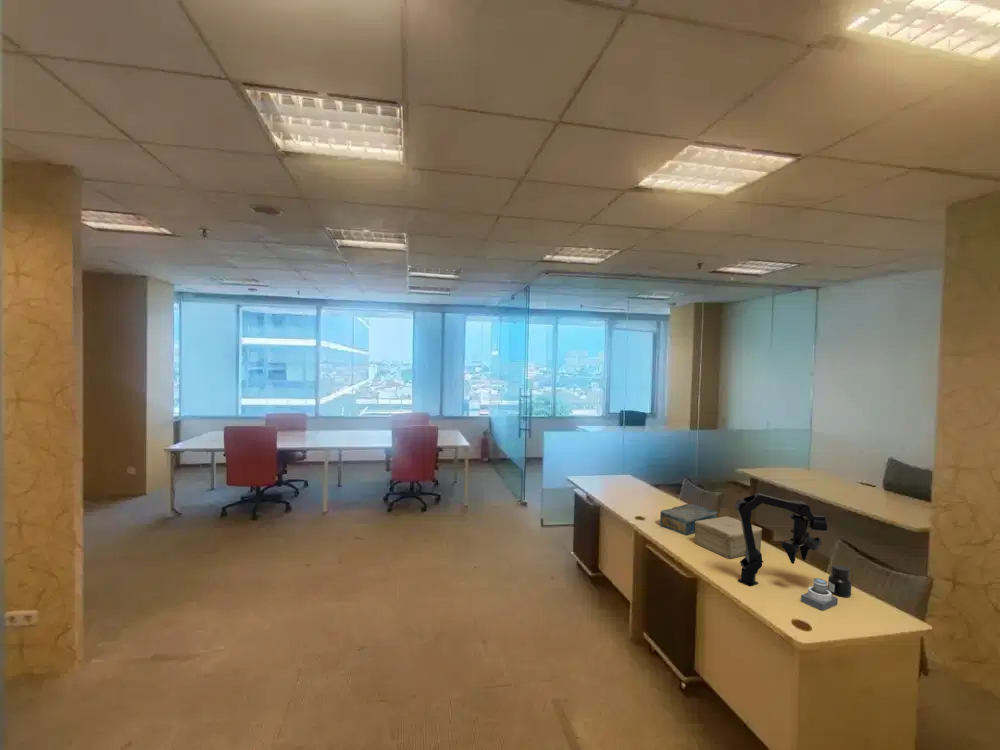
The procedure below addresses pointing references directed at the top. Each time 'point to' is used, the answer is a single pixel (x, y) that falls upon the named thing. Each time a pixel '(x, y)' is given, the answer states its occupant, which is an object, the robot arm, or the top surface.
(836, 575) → the ink bottle
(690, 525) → the metal box
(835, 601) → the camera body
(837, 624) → the top surface
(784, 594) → the top surface
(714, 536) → the paper package
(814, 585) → the lens
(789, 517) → the robot arm
